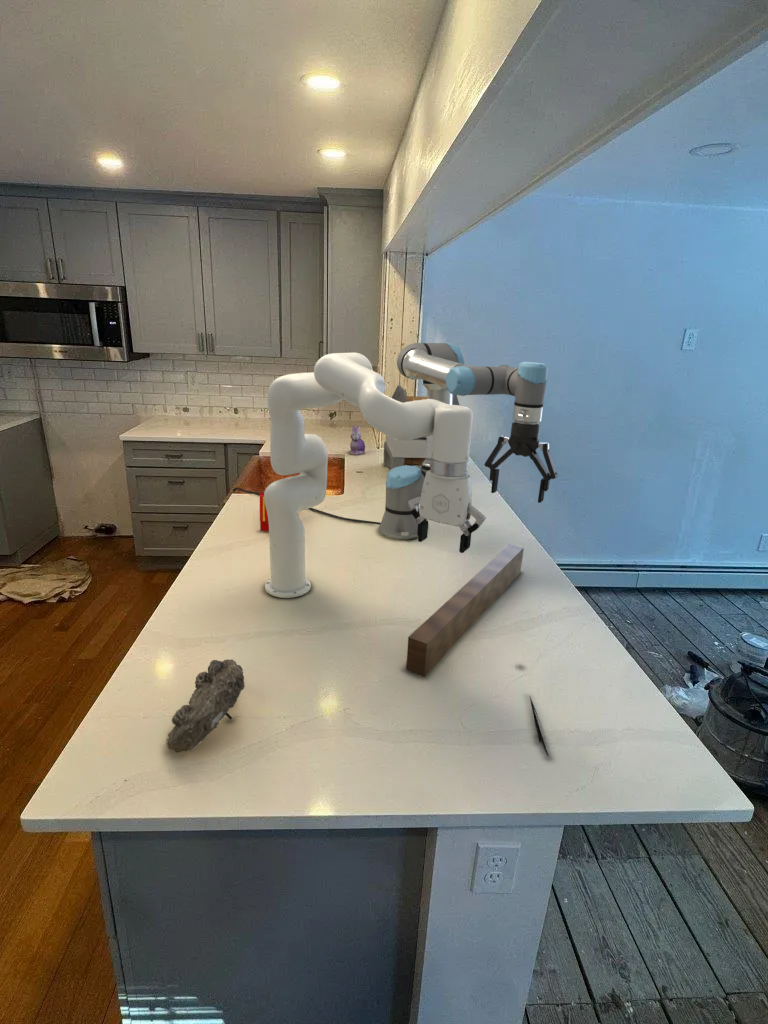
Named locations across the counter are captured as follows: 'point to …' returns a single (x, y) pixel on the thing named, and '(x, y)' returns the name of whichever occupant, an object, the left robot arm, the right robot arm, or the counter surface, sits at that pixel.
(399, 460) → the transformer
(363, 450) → the figurine
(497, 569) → the post
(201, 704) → the fossil
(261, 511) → the toy
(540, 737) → the feather
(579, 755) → the counter surface
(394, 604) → the counter surface
